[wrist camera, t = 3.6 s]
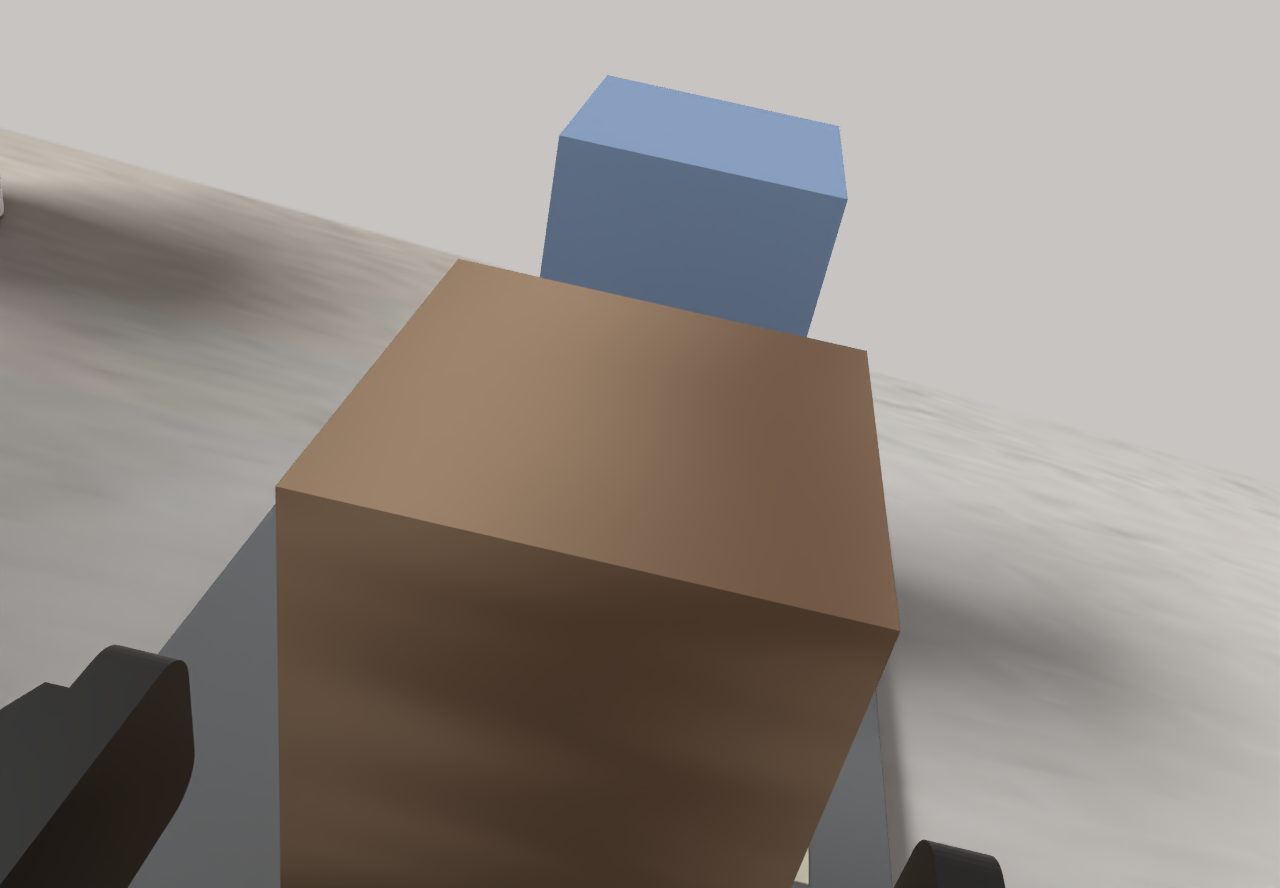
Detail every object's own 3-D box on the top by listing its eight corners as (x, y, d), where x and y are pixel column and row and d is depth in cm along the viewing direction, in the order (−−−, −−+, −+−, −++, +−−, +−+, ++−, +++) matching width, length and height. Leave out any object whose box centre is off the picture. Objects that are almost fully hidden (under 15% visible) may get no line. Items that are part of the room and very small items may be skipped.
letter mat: (-465, 1498, 10) (-491, 1478, 10) (363, 408, 29) (364, 389, 28) (951, 1864, 10) (973, 1857, 9) (853, 521, 28) (860, 502, 28)
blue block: (498, 582, 23) (559, 135, 17) (546, 463, 27) (607, 75, 22) (718, 633, 23) (847, 199, 17) (732, 506, 27) (838, 125, 22)
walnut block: (283, 1108, 13) (275, 486, 8) (409, 799, 18) (458, 258, 12) (657, 1200, 13) (899, 630, 8) (693, 866, 17) (867, 351, 12)
